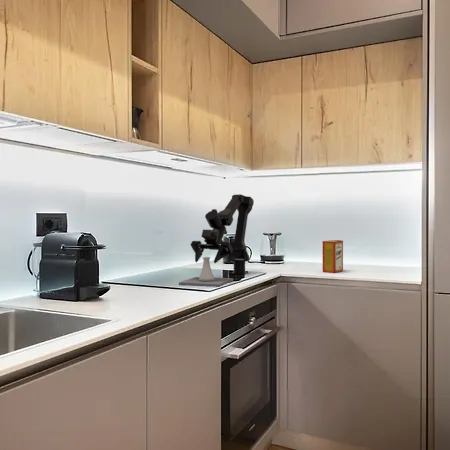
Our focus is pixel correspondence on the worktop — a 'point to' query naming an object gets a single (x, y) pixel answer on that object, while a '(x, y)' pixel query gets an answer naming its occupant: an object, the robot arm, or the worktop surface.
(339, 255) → the baking soda box
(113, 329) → the worktop surface
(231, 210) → the robot arm
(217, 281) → the mat
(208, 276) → the flask
